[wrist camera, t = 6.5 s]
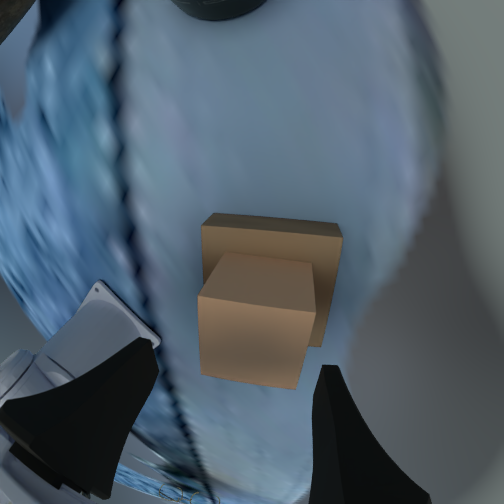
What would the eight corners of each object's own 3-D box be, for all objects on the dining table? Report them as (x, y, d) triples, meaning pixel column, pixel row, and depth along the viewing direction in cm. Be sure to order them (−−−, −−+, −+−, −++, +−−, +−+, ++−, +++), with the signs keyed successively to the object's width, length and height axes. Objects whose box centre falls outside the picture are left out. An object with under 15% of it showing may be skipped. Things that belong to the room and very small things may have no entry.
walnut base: (319, 321, 21) (320, 347, 18) (217, 310, 22) (206, 333, 19) (336, 221, 18) (343, 237, 15) (215, 211, 19) (201, 225, 16)
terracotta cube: (298, 331, 18) (295, 389, 13) (222, 321, 18) (201, 374, 14) (311, 262, 16) (316, 312, 11) (225, 251, 16) (197, 295, 12)
